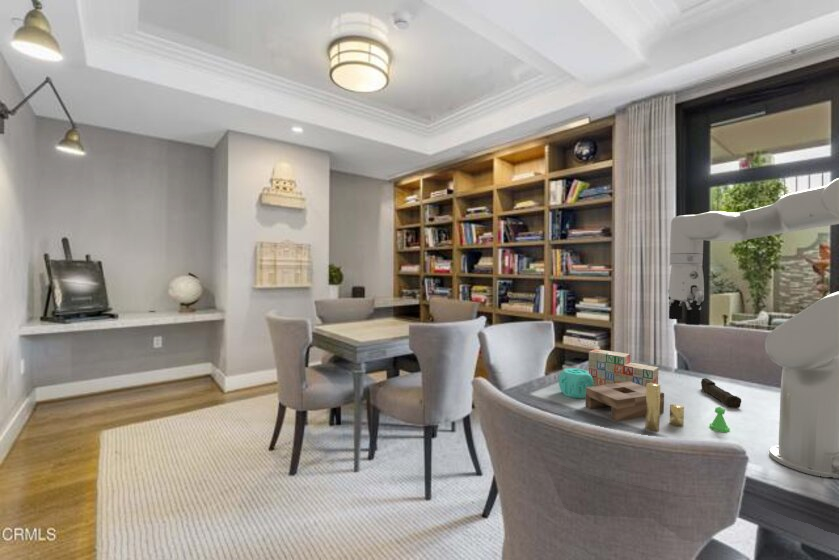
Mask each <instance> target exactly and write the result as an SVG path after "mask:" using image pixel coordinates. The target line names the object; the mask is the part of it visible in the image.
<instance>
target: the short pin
mask: <svg viewBox="0 0 839 560" xmlns="http://www.w3.org/2000/svg"><path fill="white" fill-rule="evenodd" d="M684 415H685V407H684V406H683V405H680V404H676V403H675V404H674V403H672V404H670V405H669V424H670V425H672V426H675V427H684V423H685V421H684V419H685V418H684V417H685V416H684Z"/></svg>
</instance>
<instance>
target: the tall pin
mask: <svg viewBox="0 0 839 560" xmlns="http://www.w3.org/2000/svg"><path fill="white" fill-rule="evenodd" d="M660 392H661V384H659V383H658V384H656V383H647V384H646V416H645V429H646V430H648V431H650V432H659V431H660V417H661V416H660V415H661V414H660Z"/></svg>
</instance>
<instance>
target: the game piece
mask: <svg viewBox="0 0 839 560" xmlns="http://www.w3.org/2000/svg"><path fill="white" fill-rule="evenodd" d="M714 413H716V414H717V415H716V416H715V418H714V419H713V421H712V422H710V423H709V428H710V429H711V430H714V431H716V432H720V433H721V432H722V433H728V432H730V430H731V428H730V427H729V426H728V425H727V422H726V420H725V417H724V415H725V413H726V409H724V408H723V407H721V406H717V407H715V408H714Z"/></svg>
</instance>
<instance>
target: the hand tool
mask: <svg viewBox="0 0 839 560" xmlns="http://www.w3.org/2000/svg"><path fill="white" fill-rule="evenodd" d="M700 385H701V390H702V391H703V392H704V393H705V394H706V393H707V394H708V395H711V396H712V397H715V398H716V399H718V400H719V401H721V402H722V403H723V404H725V405H726V407H727V408H729V409H730V408H731V409H738V408H740V407H741V404H742V399H741V398H740V396H737V395H733V394H732V393H730V392H729V391H726V390H724V389H723V388H721V387H719V386H718V385H716V382H714V381H713V380H711V379H708V378H707V377H703V378H701V381H700Z"/></svg>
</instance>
